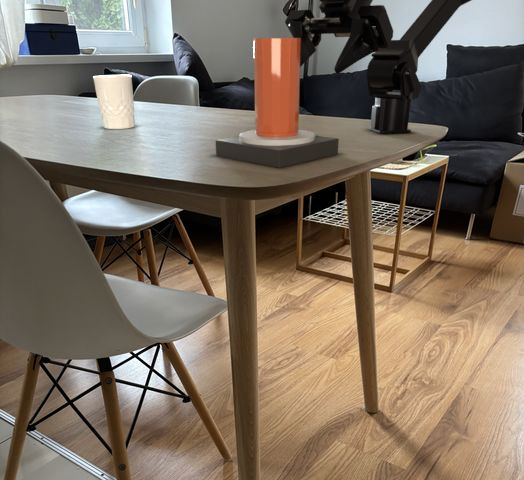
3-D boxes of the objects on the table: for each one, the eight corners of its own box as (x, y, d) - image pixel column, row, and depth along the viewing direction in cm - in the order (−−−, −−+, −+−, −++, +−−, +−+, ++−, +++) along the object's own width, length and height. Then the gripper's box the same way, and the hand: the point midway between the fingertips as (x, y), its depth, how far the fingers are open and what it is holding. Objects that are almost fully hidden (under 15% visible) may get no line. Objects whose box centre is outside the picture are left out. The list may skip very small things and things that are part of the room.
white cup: (133, 129, 109) (126, 76, 104) (96, 129, 109) (87, 77, 104) (141, 124, 116) (135, 74, 111) (107, 124, 116) (99, 75, 111)
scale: (274, 144, 91) (274, 125, 89) (337, 154, 83) (339, 133, 81) (216, 155, 83) (215, 134, 81) (279, 167, 74) (279, 144, 72)
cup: (267, 129, 85) (266, 38, 78) (304, 132, 82) (307, 38, 76) (248, 135, 80) (245, 38, 73) (287, 138, 77) (288, 37, 70)
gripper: (293, -48, 84) (247, 31, 83) (392, -64, 72) (341, 28, 71) (320, 10, 92) (279, 82, 91) (413, 5, 81) (367, 87, 80)
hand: (313, 70), depth 83 cm, fingers open, 9 cm apart
